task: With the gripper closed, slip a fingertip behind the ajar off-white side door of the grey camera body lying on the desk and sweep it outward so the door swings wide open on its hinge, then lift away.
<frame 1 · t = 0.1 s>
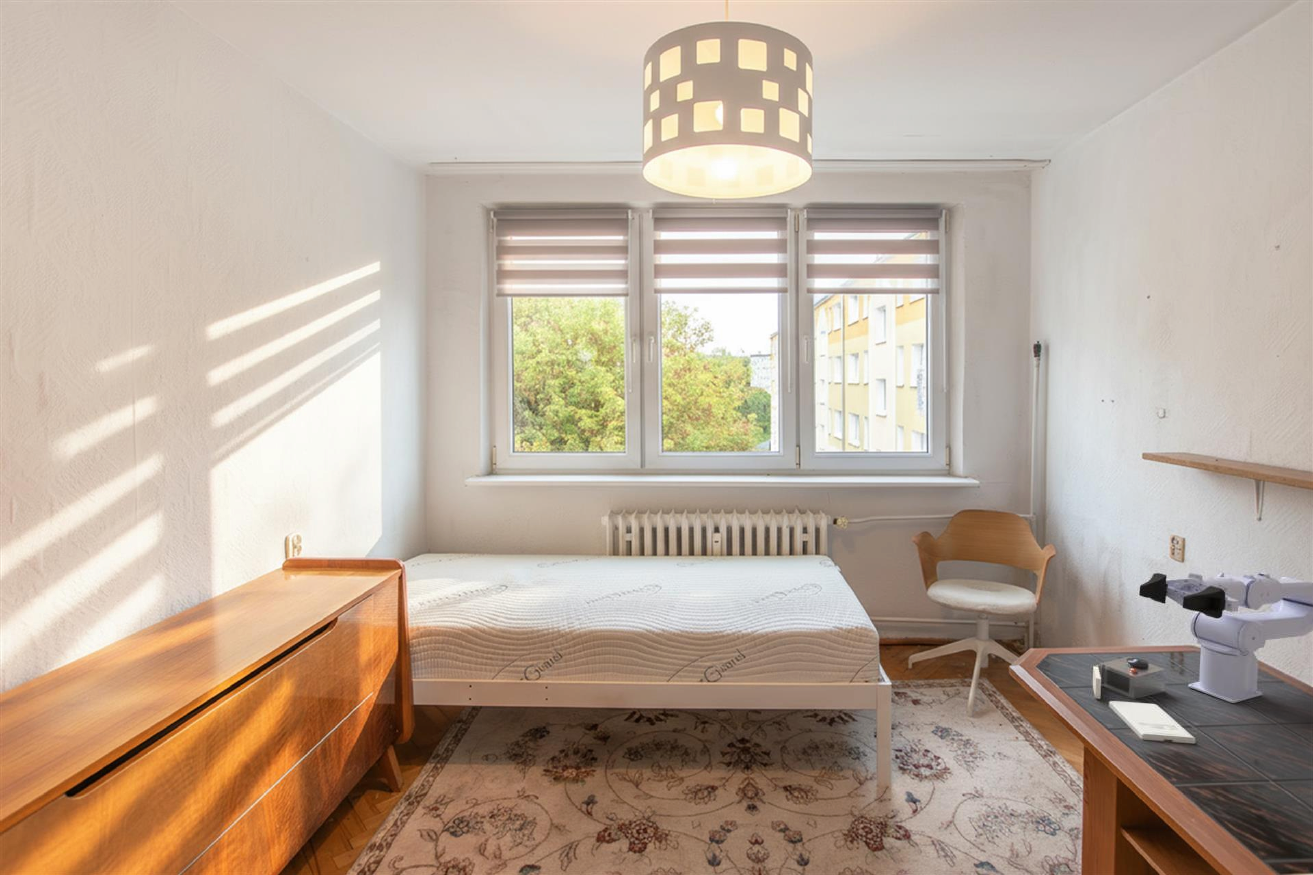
hand: (1162, 596, 126), 22 cm above the table, tool horizontal, fingers open, 7 cm apart
camera body: (1131, 687, 137), on the table
side door: (1098, 681, 135), point 2 cm above the table, hinge at 50.0°
external hard drive: (1149, 727, 122), on the table
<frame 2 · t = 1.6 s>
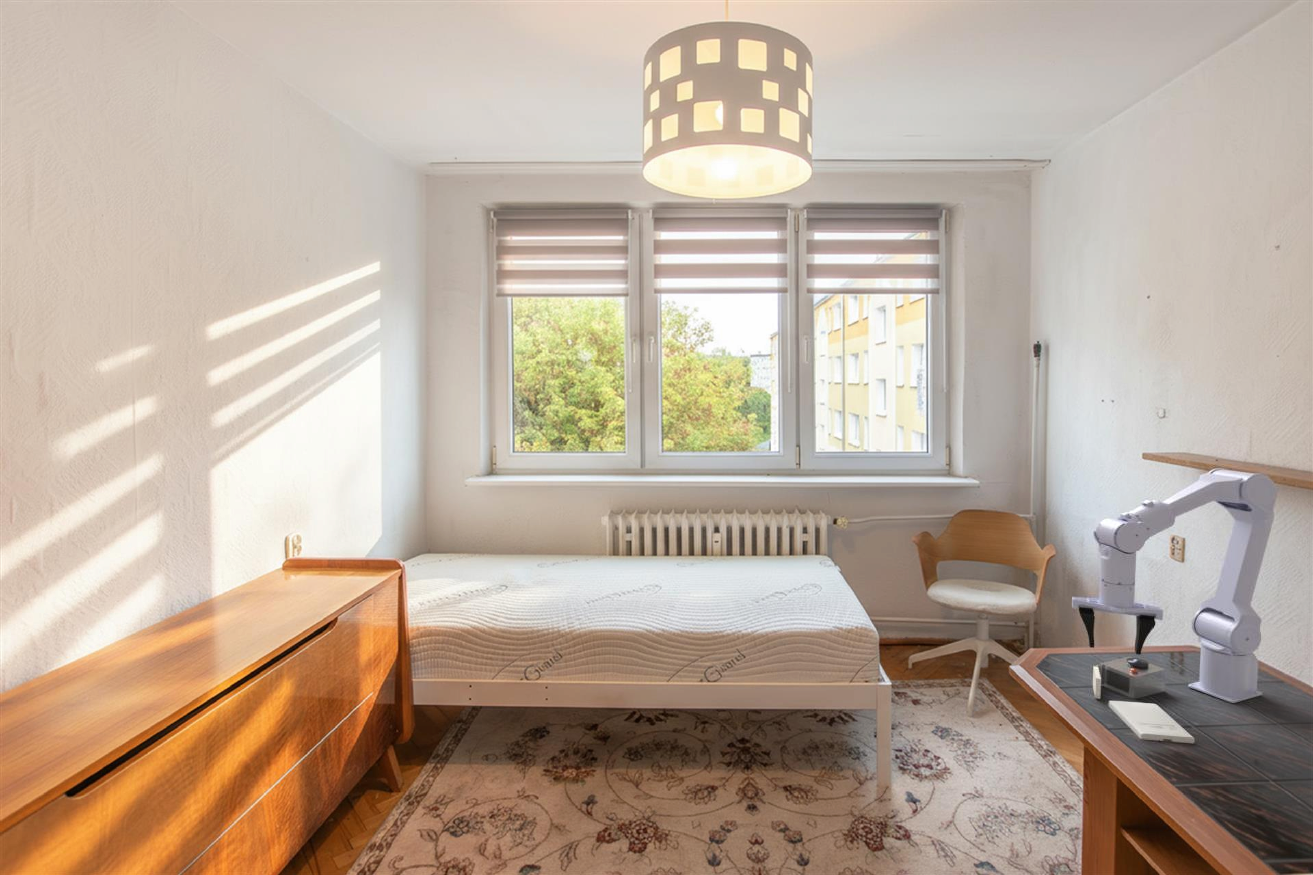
hand: (1114, 649, 132), 9 cm above the table, tool pointing down, fingers open, 7 cm apart
nothing on the table moved.
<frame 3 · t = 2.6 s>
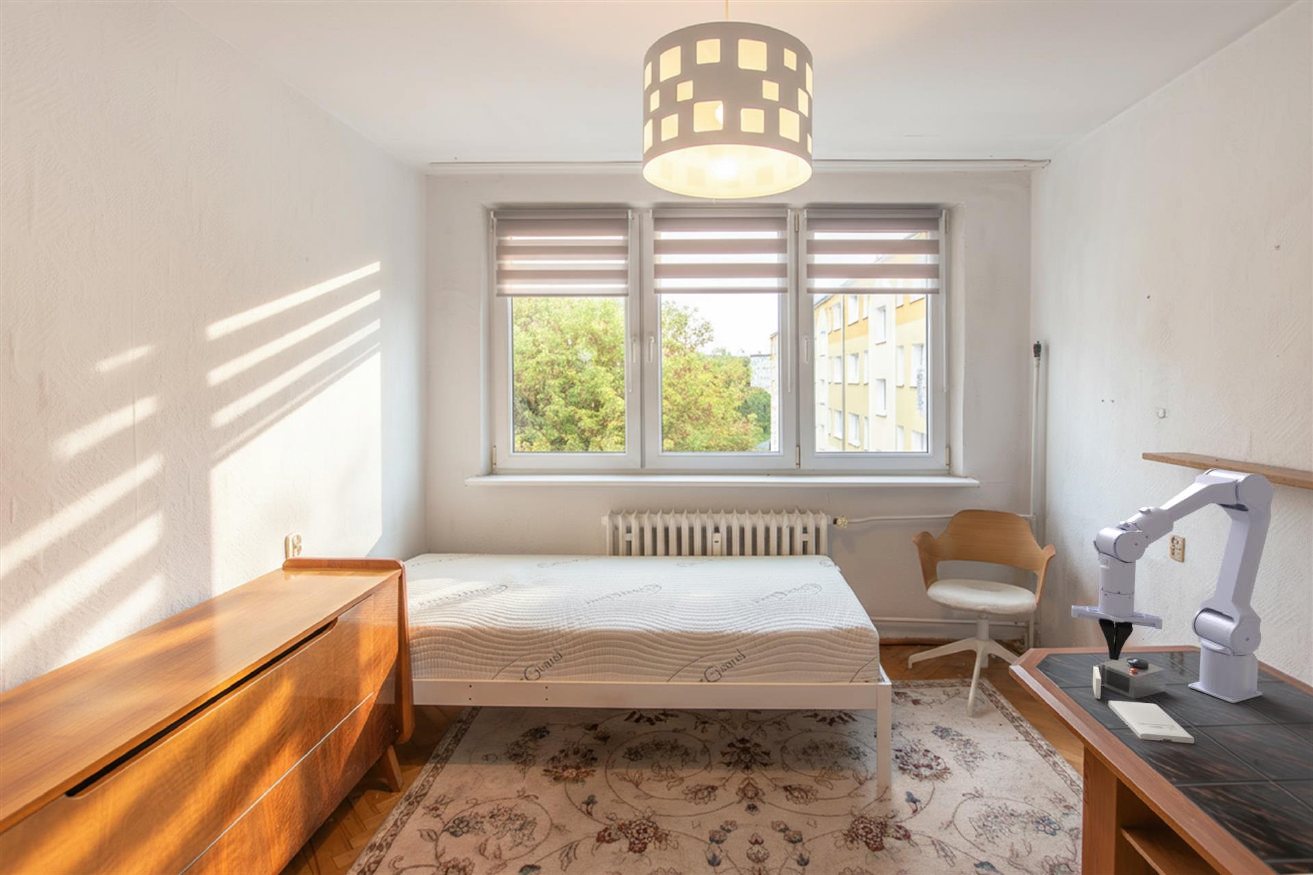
hand: (1113, 658, 133), 8 cm above the table, tool pointing down, fingers closed
nothing on the table moved.
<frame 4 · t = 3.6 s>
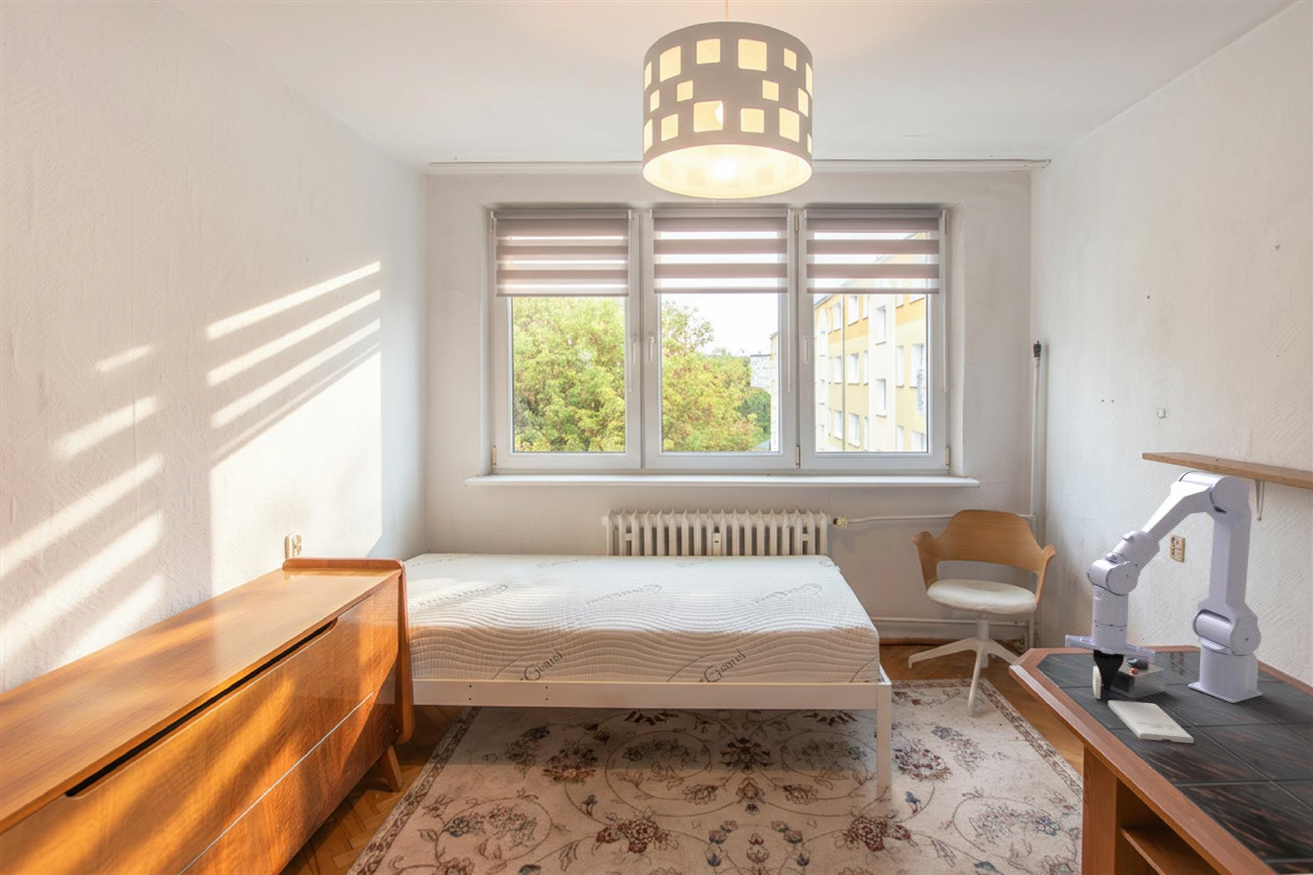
hand: (1107, 689, 133), 1 cm above the table, tool pointing down, fingers closed, pressing on side door
side door: (1097, 681, 135), point 2 cm above the table, hinge at 50.2°, touching gripper
everything else where it was.
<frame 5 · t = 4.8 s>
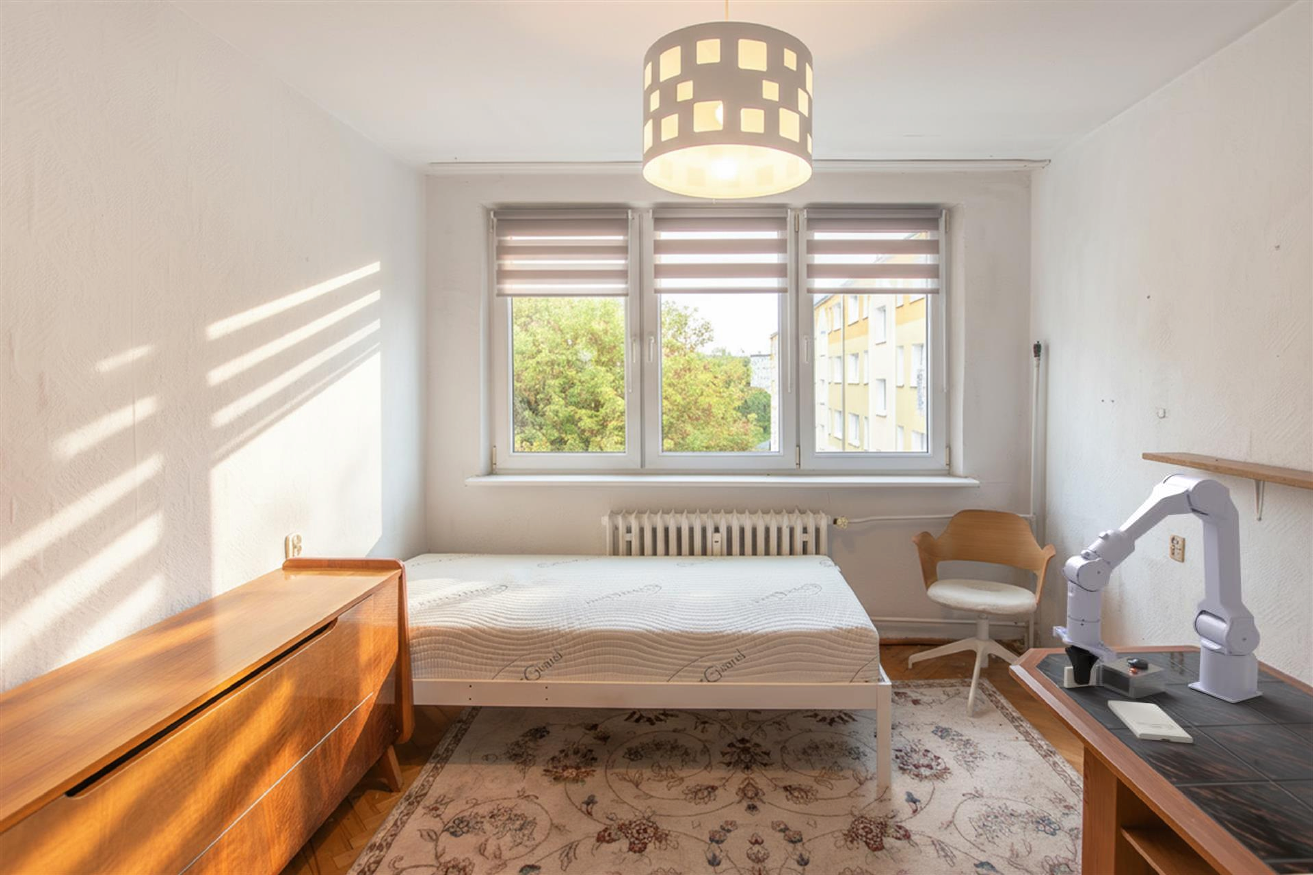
hand: (1081, 683, 136), 1 cm above the table, tool pointing down, fingers closed
side door: (1082, 676, 137), point 2 cm above the table, hinge at 99.5°, touching gripper
everything else where it was.
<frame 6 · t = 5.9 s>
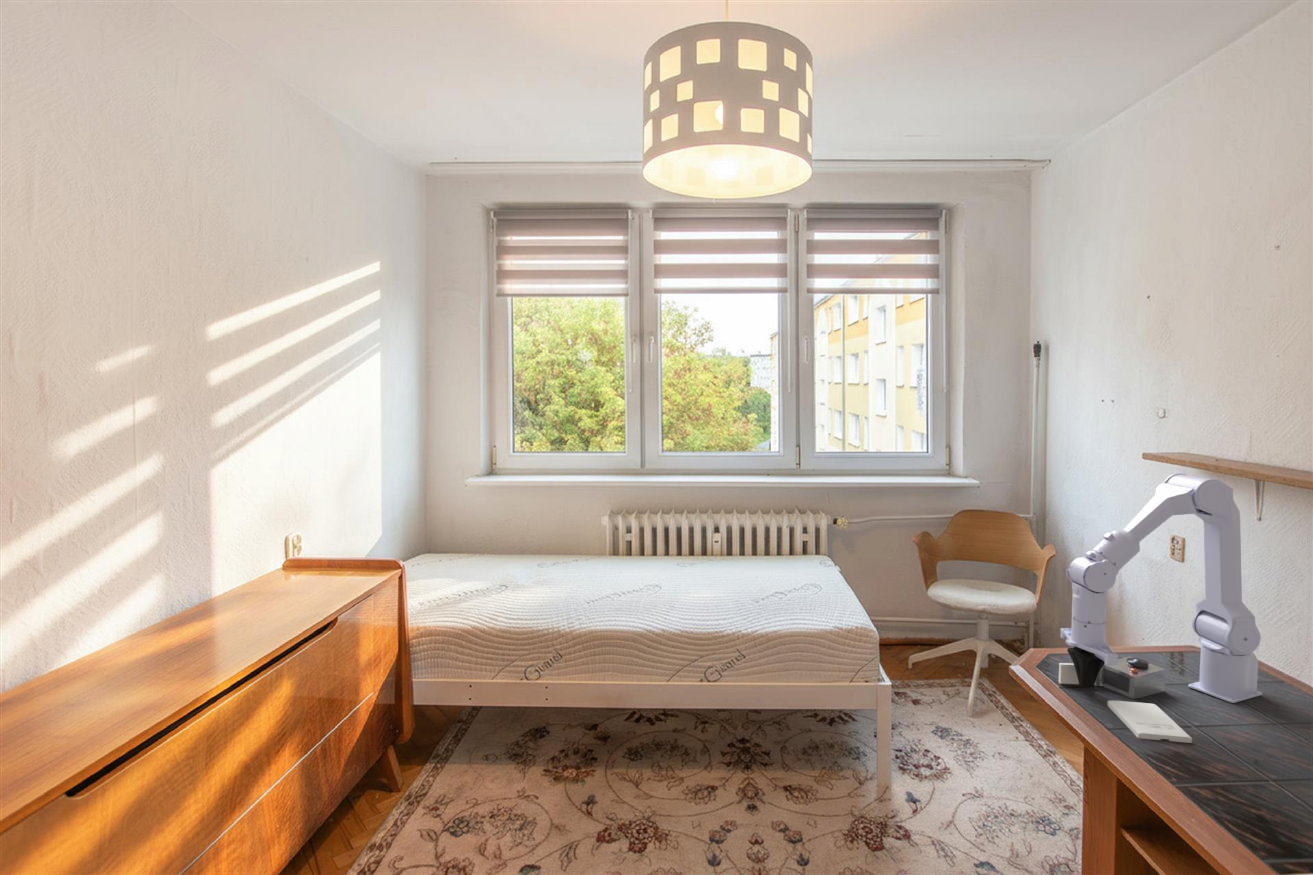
hand: (1086, 686, 135), 1 cm above the table, tool pointing down, fingers closed
side door: (1079, 674, 138), point 2 cm above the table, hinge at 115.3°
everything else where it was.
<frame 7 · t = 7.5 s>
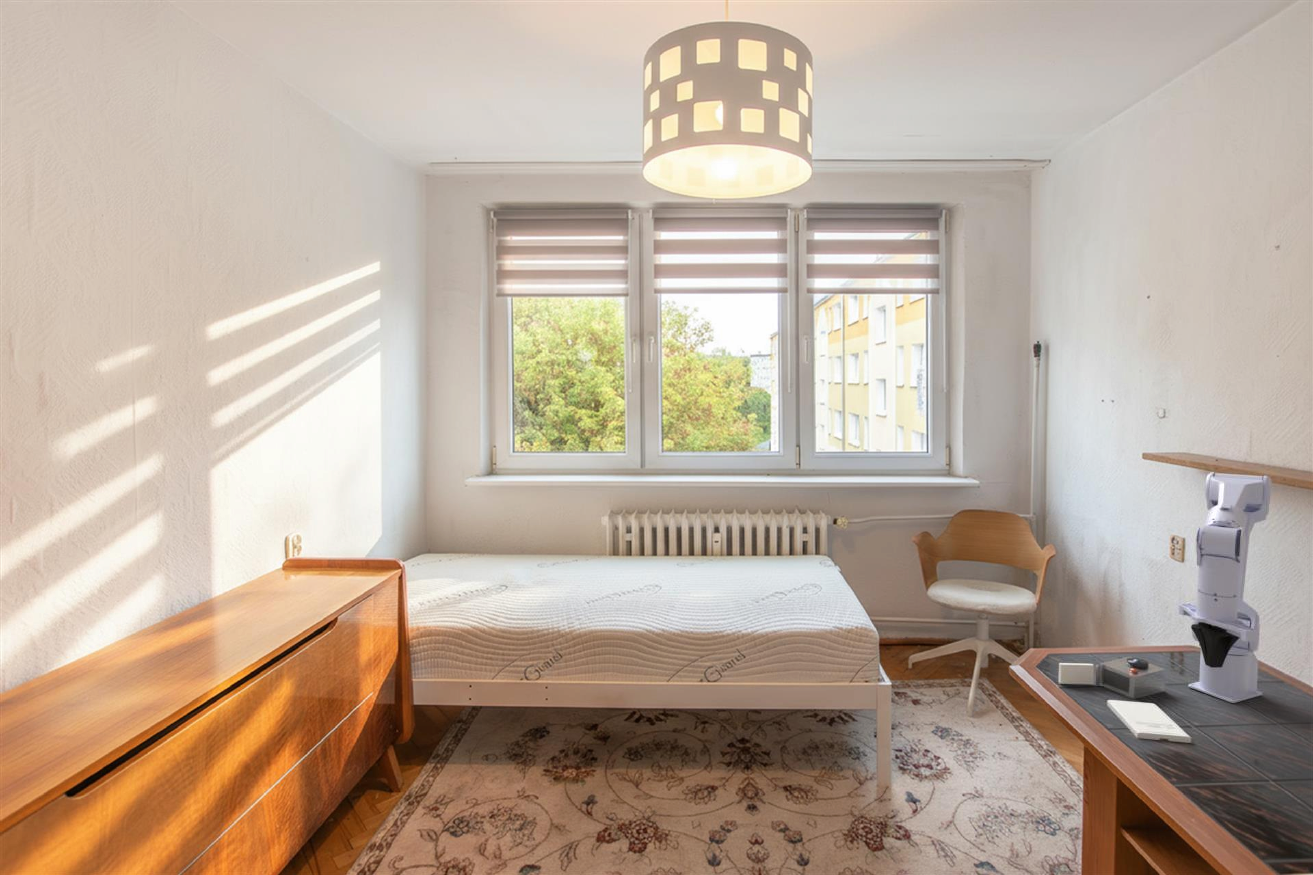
hand: (1213, 665, 123), 10 cm above the table, tool pointing down, fingers closed
side door: (1079, 674, 138), point 2 cm above the table, hinge at 115.7°
everything else where it was.
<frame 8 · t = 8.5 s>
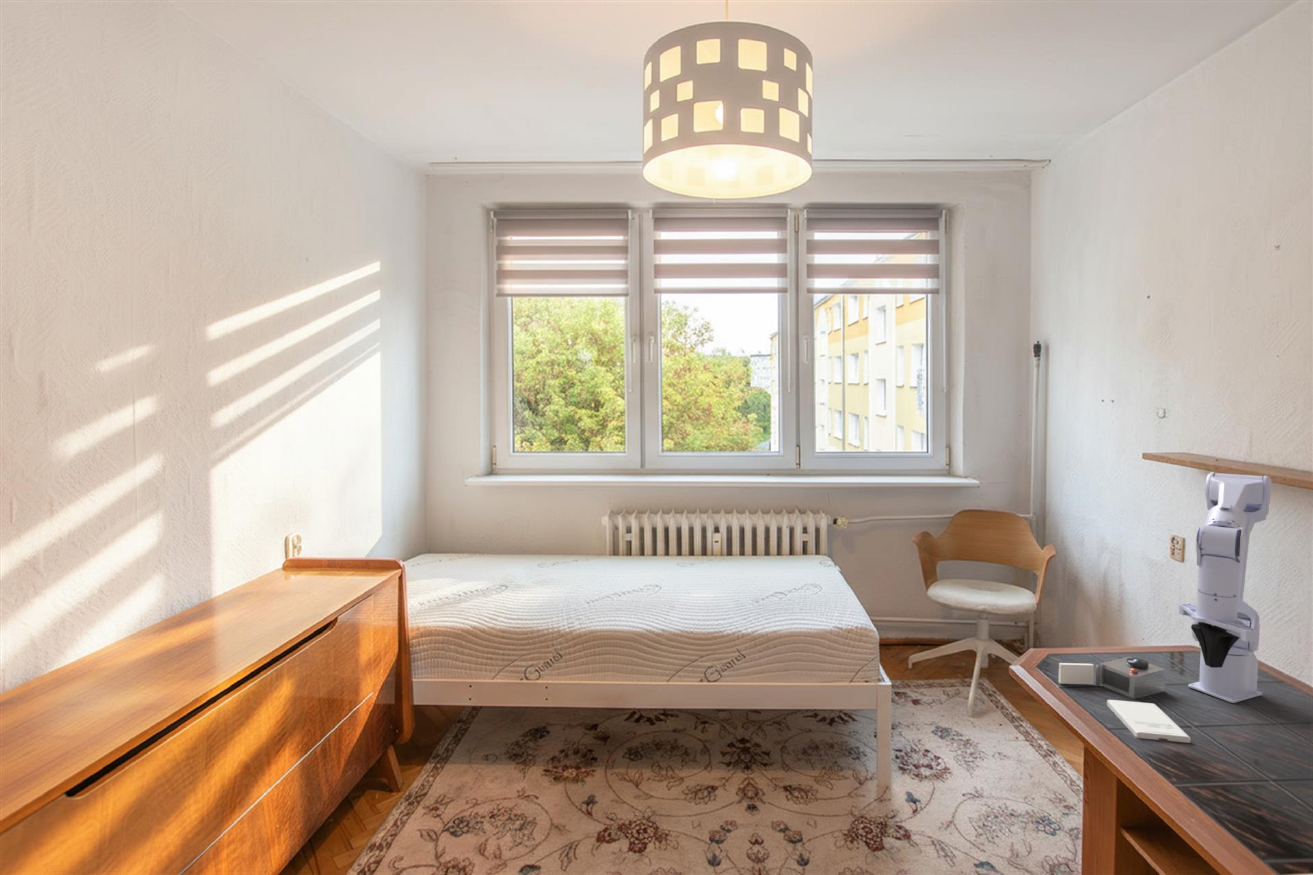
hand: (1213, 665, 123), 10 cm above the table, tool pointing down, fingers closed
nothing on the table moved.
at the end: side door at +116° (first picture: +50°); side door touching nothing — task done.
